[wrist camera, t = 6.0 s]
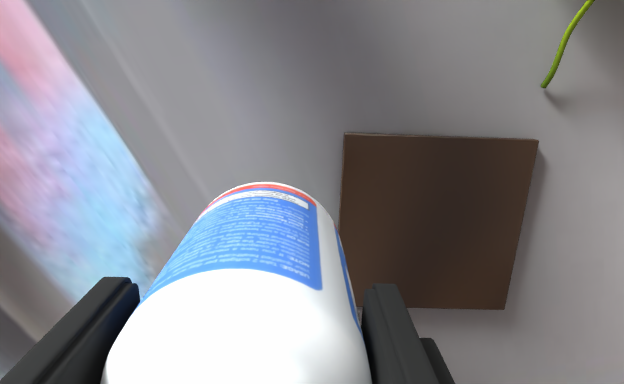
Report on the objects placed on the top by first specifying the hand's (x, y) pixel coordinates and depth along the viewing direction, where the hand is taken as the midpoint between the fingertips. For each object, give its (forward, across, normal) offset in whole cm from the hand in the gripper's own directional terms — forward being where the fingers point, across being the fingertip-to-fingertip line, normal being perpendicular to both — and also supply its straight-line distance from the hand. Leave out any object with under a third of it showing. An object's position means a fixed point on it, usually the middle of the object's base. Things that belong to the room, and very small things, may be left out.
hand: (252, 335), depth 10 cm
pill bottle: (+5, 0, 0) cm, 5 cm away
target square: (+8, -7, 0) cm, 10 cm away
